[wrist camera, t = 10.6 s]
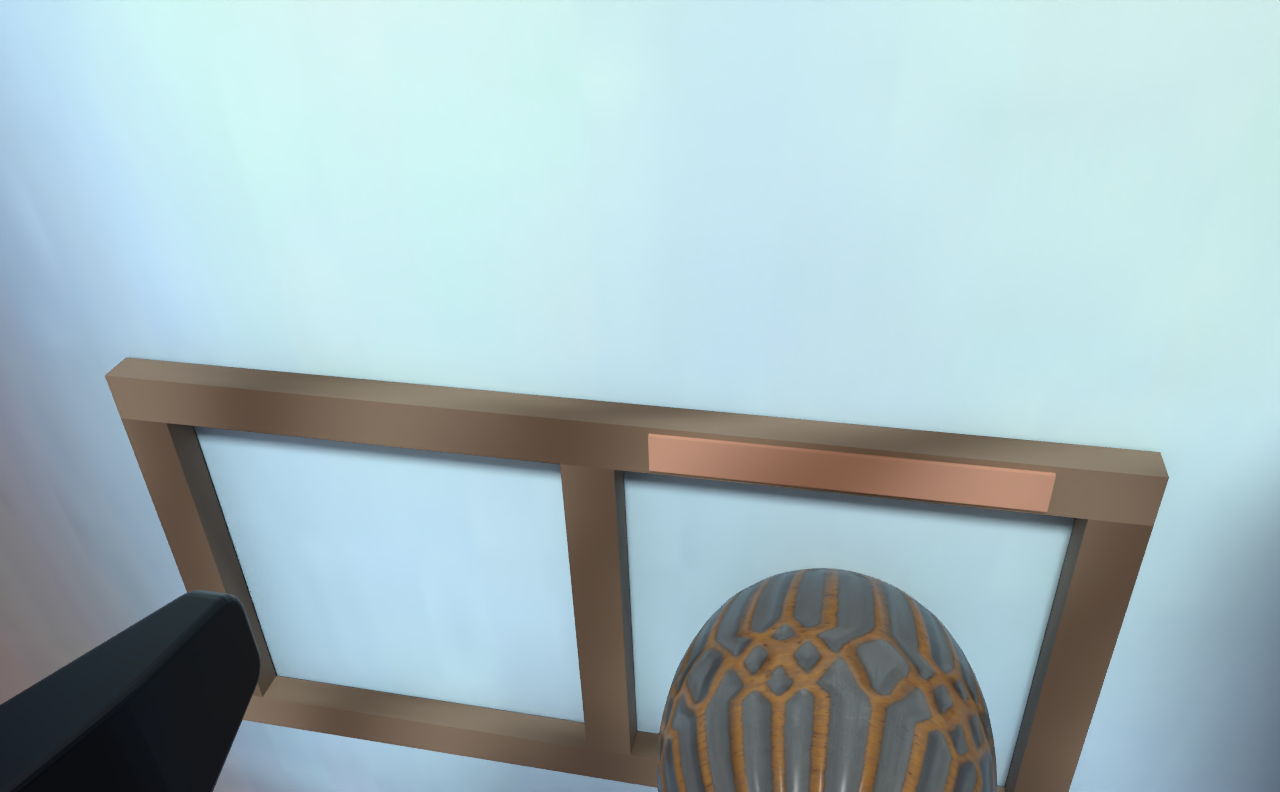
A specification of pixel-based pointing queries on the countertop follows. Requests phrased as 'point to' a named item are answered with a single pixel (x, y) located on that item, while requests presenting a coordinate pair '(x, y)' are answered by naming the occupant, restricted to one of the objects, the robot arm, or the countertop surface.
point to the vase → (825, 695)
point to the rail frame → (597, 539)
